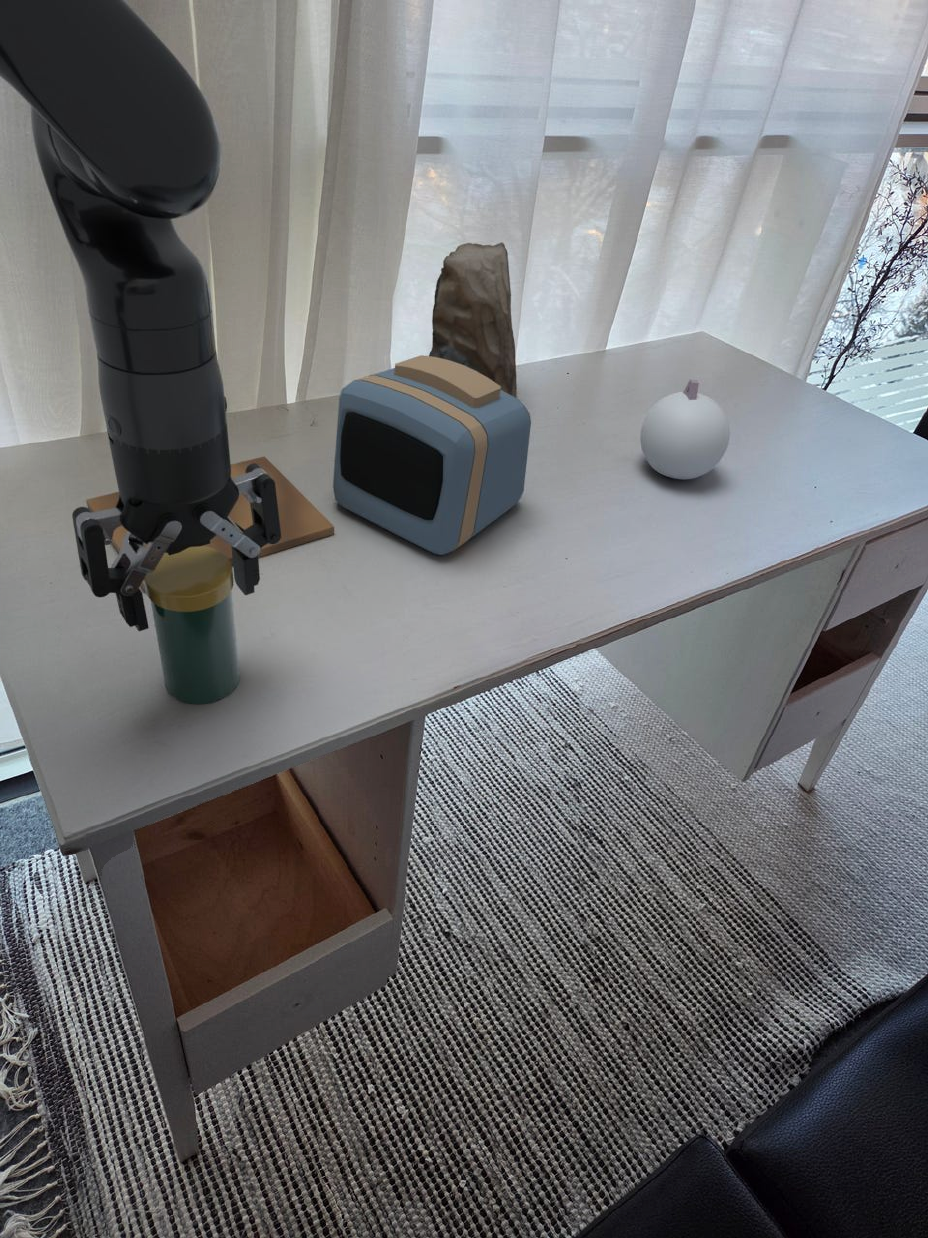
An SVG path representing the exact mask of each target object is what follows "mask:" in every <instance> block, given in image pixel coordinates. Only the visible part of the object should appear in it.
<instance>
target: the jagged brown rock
mask: <svg viewBox="0 0 928 1238" xmlns="http://www.w3.org/2000/svg"><path fill="white" fill-rule="evenodd" d="M508 255H509V254H508V249H507V248H506V244H505V243H503V242H502V241H501V242H499V243H497V244H494V245H493V244H484V245H483V244H481V243H477V242H475V243H472V242H466V243H463V244H459V245H458V246H457V247H456V249H455V251H451V252H450V253H449V254H448V255H446V256H445V257H444V259H443V263H442V267H441V268H440V269H441V270H440V274H439V277H438V278H437V281H436V284H435V291H434V304H433V308H432V318H431V323H432V325H431V326H432V332H431V333H432V344H431V345H432V346H431V349H430V352H429V354H428V356H432V357H437V358H442V359H446V360H450V361H453V362H456V363H459V364H462V365H464V366H466V367H468V368H471V369H473V370H475V371H477V372H479V373H480V374H482V375H484V376H486V377H487V378H489V379H491V380H492V381H493V382H495V383H496V384H498V385H499V386H501V390H502V391H504V392H506V393H508V394H509V395H511V396H513V397H515V398H517V399H518V397H517V395H518V394H517V392H518V390H517V389H518V388H517V364H516V363H517V362H516V344H515V342H516V341H515V337H514V330H513V322H512V321H513V320H512V290H511V277H510V269H509V268H510V265H509V256H508Z"/></svg>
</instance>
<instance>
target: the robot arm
mask: <svg viewBox="0 0 928 1238" xmlns="http://www.w3.org/2000/svg"><path fill="white" fill-rule="evenodd" d="M0 78H1V79H2V80H4V81H5V82H6V83H7V84H8V85H9V86H11V87H12V88H13V89H14V90H15V91H16V92H17V93H18V94H19V96H21V97H22V98H23V99H24V100H25V102H27V103H28V105H30V123H31V131H32V132H31V133H32V137H33V143H34V148H35V152H36V156H37V160H38V163H39V166H40V170H41V173H42V176H43V179H44V182H45V185H46V188H47V190H48V193H49V196H50V199H51V201H52V204H53V207H54V210H55V211H56V214H57V217H58V220H59V223H60V225H61V228H62V231H63V234H64V236H65V238H66V241H67V244H68V246H69V249H70V250H71V253H72V255H73V257H74V258H75V261H76V263H77V266H78V268H79V271H80V275H81V277H82V280H83V284H84V288H85V298H86V302H87V303H86V304H87V309H88V317H89V321H90V322H89V323H90V326H91V331H92V337H93V342H94V348H95V352H96V358H97V374H98V375H97V377H98V389H99V390H98V391H99V397H100V402H101V406H102V411H103V418H104V423H105V427H106V433H107V438H108V443H109V448H110V453H111V458H112V463H113V469H114V474H115V479H116V484H117V489H118V492H119V498H118V502H117V504H116V507H115V508H112V509H107V510H102V511H97V512H92V513H91V511H90V510H89V509H88V507H87V506H79V507H76V508H75V509H74V510H73V512H72V514H71V517H72V518H71V519H72V524H73V529H74V535H75V541H76V547H77V554H78V561H79V567H80V572H81V576H82V577H83V579H84V580H85V581H86V583H87V584H88V586H89V587H90V591H91V592H92V594H93V595H94V596H95V597H96V598H105V597H108V595H109V594H115V596H116V602H117V605H118V610H119V613H120V615H121V617H122V618H123V620H124V621H125V623H126V624H127V625H128V626H129V628H133V627H135V628H136V630H137V631H138V632H142V631H146V630H148V629H149V627H150V626H149V621H148V616H147V611H146V607H145V601H144V595H143V592H142V590H141V589H140V587H141V586H140V585H141V583H142V582H143V580H144V578H145V577H146V575H147V574H148V573H149V572H150V573H151V572H153V571H154V570H155V568H156V567H157V565H158V563H159V562H160V560H161V558H162V557H163V555H164V553H168V555H169V556H170V555H173V554H176V553H180V552H182V551H183V550H185V549H187V548H189V547H199V546H204V545H207V544H210V540H211V539H213V538H214V537H215V536H216V535H218V536H219V537H220V538H222V539H223V540H224V541H226V542H227V543H228V544H230V545H231V547H232V558H233V566H232V569H233V579H234V583H235V584H236V586H237V588H238V589H239V590H240V591H241V592H242V594H243V595H244V596H248V595H251V594H254V593H255V586H258V585H259V583H260V580H261V574H260V561H259V560H260V559H259V558H258V554H259V553H260V549H261V548H262V547H263V546H265V545H266V544H268V543H269V544H276V543H278V542H279V541H280V539H281V529H280V520H279V512H278V504H277V495H276V487H275V482H274V480H273V479H272V478H271V477H270V476H269V475H268V474H267V473H266V472H265V471H264V470H263V469H262V468H261V467H260V466H259V465H258V464H256V463H253V464H250V465H249V466H248V467H247V468H246V474H243V475H240V476H236V477H233V478H231V464H232V463H231V454H230V453H231V451H230V443H229V431H228V421H227V420H228V419H227V411H228V410H227V409H228V402H227V397H226V395H225V389H224V388H225V387H224V382H223V381H224V380H223V377H222V372H221V368H220V364H219V363H220V362H219V360H218V359H219V358H218V353H217V348H216V337H215V325H214V315H213V303H212V302H213V301H212V294H211V287H210V283H209V278H208V274H207V272H206V269H205V267H204V265H203V264H202V262H201V260H200V259H199V258H198V256H196V255H195V253H194V252H193V251H192V250H191V249H190V248H189V247H188V246H187V244H185V242H184V241H183V240H182V239H181V237H180V236H179V234H178V231H177V230H176V228H175V225H174V221H173V219H180V218H185V217H187V216H189V215H191V214H193V213H195V212H197V211H198V210H200V209H201V208H202V207H203V206H204V205H205V204H206V203H207V202H208V201H209V200H210V199H211V197H212V195H213V194H214V192H215V190H216V188H217V185H218V183H219V180H220V176H221V171H222V165H223V164H222V162H223V151H222V141H221V135H220V132H219V128H218V125H217V121H216V118H215V116H214V114H213V111H212V109H211V107H210V105H209V103H208V101H207V99H206V97H205V95H204V93H202V90H201V89H200V87H199V86H198V84H197V83H196V81H195V80H194V79H193V77H192V75H191V74H190V73H189V72H188V70H187V69H186V68H185V66H184V65H183V64H182V63H181V61H180V60H179V59H178V58H177V56H176V55H175V54H174V53H173V52H172V51H171V49H169V47H168V46H167V45H166V44H165V43H164V42H163V41H162V40H161V38H160V37H159V36H158V35H157V34H156V33H155V32H154V31H153V30H152V29H151V27H149V25H148V24H147V23H146V22H145V21H144V20H143V19H142V18H141V17H140V16H139V15H138V14H137V13H136V11H134V9H132V7H131V6H130V5H129V4H128V3H127V2H126V0H0ZM239 494H243V495H244V497H245V498H246V499H247V500H248V501H249V502H250V507H251V513H252V520H253V525H251V526H250V527H248V528H247V529H244V528H242V527H241V526H240V525H239V524H237V523H236V522H235V521H233V520H232V519H231V518H230V517H229V516H228V515H229V514H230V512H231V510H232V509H233V507H234V505H235V504H236V502H237V500H238V497H239ZM119 526H123V527H124V528H125V529H126V530H127V533H126V534H125V536H124V538H123V539H122V541H121V550H120V553H118V554H117V556H116V558H115V559H114V561H113V563H112V564H111V566H110V567H109V564H108V563H109V562H108V557H107V556H108V555H107V548H106V546H110V545H111V544H112V543H111V540H112V538H113V532H114V530H115V529H116V528H117V527H119ZM143 543H146V544H147V546H146V547H145V549H144V547H143Z"/></svg>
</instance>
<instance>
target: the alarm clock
mask: <svg viewBox="0 0 928 1238" xmlns="http://www.w3.org/2000/svg"><path fill="white" fill-rule="evenodd" d="M338 397H339V398H338V410H337V424H336V437H335V438H336V440H335V450H334V451H335V452H334V466H333V480H332V481H333V482H332V488H333V495H334V500H335V501H336V502H337V503H338V504H340V506H342V508H344V509H346V510H348V511H349V512H352V513H354V514H355V515H357V516H359V517H361V518H364V519H365V520H367V521H369V522H370V523H373V524H375V525H377V526H379V527H381V528H383V529H385V530H386V531H388V532H390V533H393V534H394V535H396V536H398V537H400V538H403V539H404V540H406V541H408V542H410V543H412V544H414V545H417V546H418V547H420V548H422V549H424V550H426V551H428V552H430V553H432V554H435V555H440V556H444V555H446V554H449V553H452V552H453V551H456V550H457V549H458V548H460V547H461V546H462V545H464V544H465V543H466V542H468V541H469V540H470V539H472V538H473V537H474V536H476V535H478V533H480V532H482V531H483V530H484V529H485V528H487V527H488V526H490V525H491V523H493V522H495V521H496V520H497V519H498V518H500V517H501V516H502V515H504V514H506V512H508V511H509V510H510V509H512V508H513V507H514V506H515V505H517V504H518V503H519V502H520V500H521V498H522V496H523V494H524V491H525V482H526V473H527V463H528V455H529V444H530V437H531V426H532V419H531V414H530V412H529V410H528V409H527V407H526V405H525V404H524V403H523V402H522V401H521V400H520V399H519V398H518V397H517V398H515V397H513V396H511V395H509V394H508V393H506V392H504V391H502V390H501V386H499V385H498V384H496V383H495V382H493V381H492V380H491V379H489V378H487V377H486V376H484V375H482V374H480V373H479V372H477V371H475V370H473V369H471V368H468V367H466V366H464V365H462V364H459V363H456V362H453V361H450V360H446V359H442V358H437V357H432V356H429V355H424V354H421V355H417V356H414V357H411V358H408V359H405V360H401V361H399V362H397V363H395V364H394V367H393V368H389V369H386V370H383V371H380V372H376V373H374V374H370V375H366V376H363V377H360V378H357V379H354V380H352V381H351V382H349V383H348V384H347V385H345V386H344V387H342V389H341V391H340V394H339V396H338Z"/></svg>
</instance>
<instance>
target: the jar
mask: <svg viewBox="0 0 928 1238" xmlns="http://www.w3.org/2000/svg"><path fill="white" fill-rule="evenodd" d="M144 585H145V590H146V592H145V593H146V596H147V597H148V599H149V601H150V608H151V612H152V619H153V624H154V629H155V636H156V642H157V646H158V651H159V657H160V663H161V669H162V674H163V679H164V685H165V689H166V690H167V692H168V693H169V695H170V696H172V697H173V698H175V699H176V700H177V701H180V702H182V703H186V704H190V705H205V704H211V703H215V702H217V701H220V700H223V699H224V698H226V697H227V696H229V695H230V694H231V693H232V692H233V691H234V690H235V689H236V688H237V686H238V684H239V683H240V675H241V674H240V665H239V664H240V663H239V654H238V642H237V633H236V631H237V630H236V623H235V621H236V620H235V611H234V601H233V600H234V599H233V591H232V590H233V587H234V570H233V566H232V564H231V562H230V560H229V559H228V557H227V556H226V555H224V554H223V553H222V552H220V551H218V550H216V549H214V548H210V547H206V546H199V547H189V548H187V549H185V550H183V551H182V552H180V553H176V554H173V555H170V556H169V555H168V553H164V555H163V557H162V558H161V560H160V562H159V563H158V565H157V567H156V568H155V570H154V571H153V572H151V573H150V572H149V573H148V574H147V575H146V577H145V578H144Z"/></svg>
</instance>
